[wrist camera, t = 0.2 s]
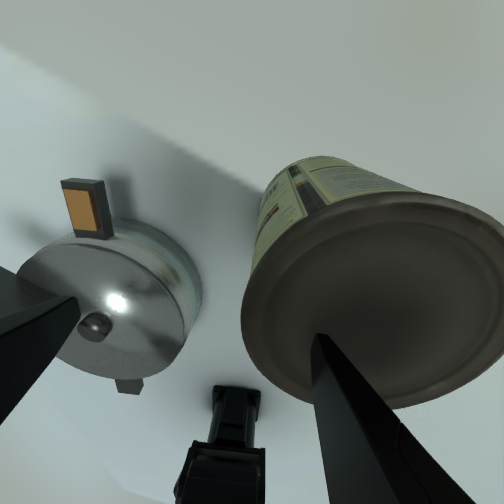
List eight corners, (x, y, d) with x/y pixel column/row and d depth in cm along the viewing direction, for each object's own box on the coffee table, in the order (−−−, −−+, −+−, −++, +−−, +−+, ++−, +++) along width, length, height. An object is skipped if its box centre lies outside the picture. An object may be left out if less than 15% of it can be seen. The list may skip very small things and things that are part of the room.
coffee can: (361, 269, 24) (461, 424, 11) (256, 263, 24) (239, 403, 12) (391, 156, 19) (617, 205, 7) (261, 151, 20) (240, 187, 7)
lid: (214, 305, 20) (199, 349, 16) (147, 391, 26) (123, 439, 22) (-27, 167, 17) (-126, 179, 13) (-43, 303, 23) (-113, 342, 18)
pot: (204, 365, 32) (192, 404, 27) (91, 352, 32) (62, 388, 28) (199, 179, 21) (179, 192, 17) (32, 165, 22) (-30, 173, 17)
